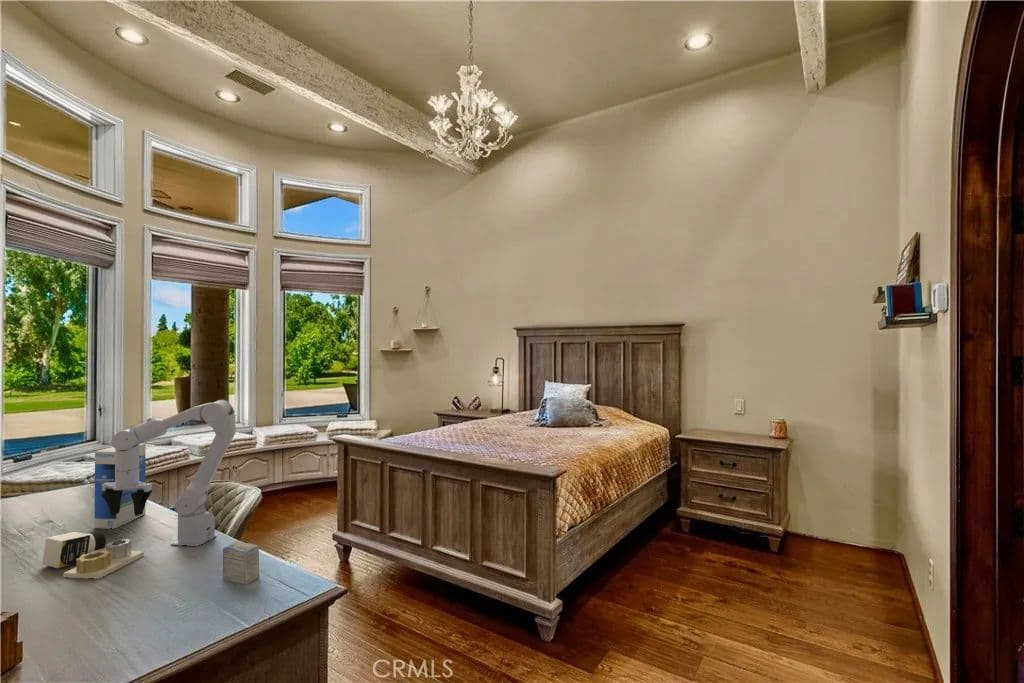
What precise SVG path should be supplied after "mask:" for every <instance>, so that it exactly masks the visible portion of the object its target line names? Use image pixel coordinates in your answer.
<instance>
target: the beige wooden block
mask: <svg viewBox="0 0 1024 683" xmlns="http://www.w3.org/2000/svg"><path fill="white" fill-rule="evenodd" d="M256 578H257V579H259V578H260V546H259V545H258V544H254V543H247V542H243V541H242V542H241V541H235V542H232V543H230V544H228V545H226V546H224V547H223V548H222V580H223V581H225V580H226V581H227V582H231V583H235V584H241V585H245V586H247V585H248V584H250V583H252V582H254V581H255V580H257V579H256ZM253 580H254V581H253Z"/></svg>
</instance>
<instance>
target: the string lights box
mask: <svg viewBox="0 0 1024 683" xmlns="http://www.w3.org/2000/svg"><path fill="white" fill-rule="evenodd" d="M108 482H115V448H114V447H113V446H112V447H107V448H103V449H99V450H94V523H93V525H94V526H93V528H94V529H105V530H106V529H109V530H110V528H112V529H114V528H115V529H117V528H119V527H122V526H123V524H124V525H125V524H128V523H130V522H132V520H133V521H134V519H135V520H137V519H139V518H141V517H140V516H142V515H144V514H145V515H146V506H145V507H144V510H143V514H140V515H138V516H135V514H134V503H133V499H132V497H131V494H132V493H135V492H137V491H129V490H123V493H122V496H121V501H120V512H119V513H117V514H115V515H111V512H110V509H109V506H108V504H107V502H106V501H105V499H104V498H103V497H102V496H101V495H102V493H104V492H105V491H106V490H105V491H102V484H104V483H108ZM139 482H144V483H146V442H145V443H141V444H140V445H139ZM145 515H144V516H145ZM138 517H139V518H138ZM142 517H143V516H142ZM136 518H137V519H136ZM121 525H122V526H121ZM112 529H111V530H112Z"/></svg>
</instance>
